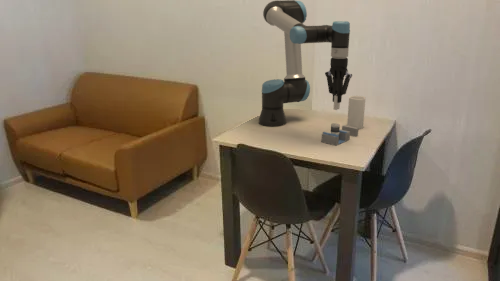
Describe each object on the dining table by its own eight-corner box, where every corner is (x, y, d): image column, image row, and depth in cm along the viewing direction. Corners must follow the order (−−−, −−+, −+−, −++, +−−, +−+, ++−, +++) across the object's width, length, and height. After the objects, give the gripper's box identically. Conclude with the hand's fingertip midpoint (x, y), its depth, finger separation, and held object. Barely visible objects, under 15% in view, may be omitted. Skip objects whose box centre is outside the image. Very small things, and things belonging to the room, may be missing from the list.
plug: (328, 140, 190) (329, 124, 188) (333, 138, 193) (334, 122, 190) (335, 142, 187) (336, 126, 185) (340, 140, 190) (341, 124, 188)
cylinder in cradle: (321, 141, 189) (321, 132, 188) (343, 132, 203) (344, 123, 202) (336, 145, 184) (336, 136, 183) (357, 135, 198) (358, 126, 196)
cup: (363, 129, 208) (365, 99, 203) (347, 128, 210) (349, 98, 205) (362, 125, 216) (364, 95, 211) (346, 124, 217) (348, 95, 212)
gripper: (322, 57, 180) (320, 108, 187) (347, 59, 171) (344, 112, 178) (331, 55, 185) (328, 105, 192) (356, 57, 176) (353, 109, 184)
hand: (336, 109), depth 185 cm, fingers closed
